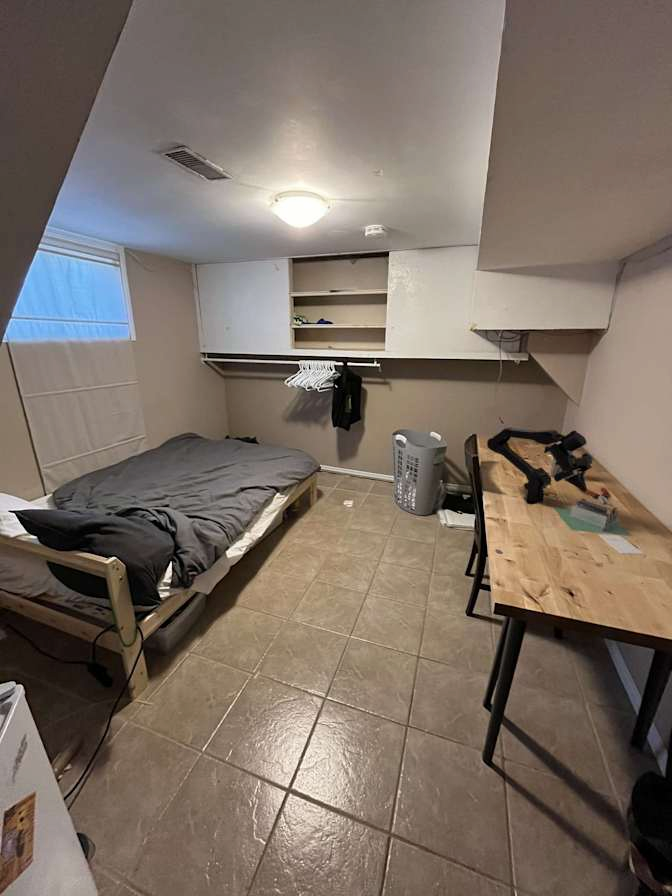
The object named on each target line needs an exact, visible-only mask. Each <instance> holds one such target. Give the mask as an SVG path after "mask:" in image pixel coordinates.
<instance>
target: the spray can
mask: <svg viewBox="0 0 672 896" xmlns="http://www.w3.org/2000/svg"><path fill="white" fill-rule="evenodd" d="M559 443H561V441H560V442H556V444H559ZM568 452H569V454H570V455H573V452H574V451H568ZM555 463H556V460H555V459H554V457H553V456H552V463H551V467H550V472H549V475H550V477H551V478H552V477H553V478H554V475H555V474H557V473H559V472H561V471H562V469H561V468H560V466H559V465H556V464H555ZM565 479H567V477H566V478H565Z"/></svg>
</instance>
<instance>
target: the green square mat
mask: <svg viewBox="0 0 672 896" xmlns="http://www.w3.org/2000/svg"><path fill="white" fill-rule="evenodd" d="M552 508H553V510H554V511H556V513H557V514H558V515H559V517H560V518H561V519H562V520H563V521H564V523H565V524H566V525H567V526H568V528H569V530H571V531H577V532H578V531H579V532H587V533H598V534H605V535H619V536H628V537H633V535H631V533H630V532H628V531H627V530H626V529H625V528H624V527H623V526H621V524H620V523H619V522H617V523H616V524H615V525H613V526H611V527H609V528H607V529H606V530H604V531H600V530H598V529H595V528H592V527H590V526H587V525H584V524H582V523H579V522H576V521H574V520H571V519H569V515H571V510H572V508H563V507H552Z"/></svg>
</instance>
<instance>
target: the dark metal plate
mask: <svg viewBox="0 0 672 896" xmlns="http://www.w3.org/2000/svg"><path fill="white" fill-rule="evenodd" d="M579 501H580V504H583V505H586V506H588V507H591V508H594V509H597V510H600V511H603V512H606V513H607V510H612V509H613V508H611V509H609V508H610V507H608V508H606V507H607V506H605V507H603V506H604V505H602V506H600V505H601V504H599V505H597V504H598V503H596V504H594V503H595V502H593V503H591V502H592V501H590V502H588V501H589V500H587V501H585V500H581V499H580V500H579ZM613 511H614V510H612V512H611V513H613Z"/></svg>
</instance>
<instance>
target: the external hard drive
mask: <svg viewBox="0 0 672 896" xmlns="http://www.w3.org/2000/svg"><path fill="white" fill-rule="evenodd" d="M598 537H600V538H601V539H603V540H604V541H605V542H606V543H607V544H608V545H610V546H611V547H612V548H614V549H615V550H616V551H617V552H619V553H620V554H622V555H624V554H626V555H644V556H643V558H646V553H644V552H643V551H642V550H640V549H639V548H637V547H636V546H634V545H633V544H632V543H630V542H629V541H627V540H626V539H624V538H623V537H622V536H621V535H615V534H598Z"/></svg>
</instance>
